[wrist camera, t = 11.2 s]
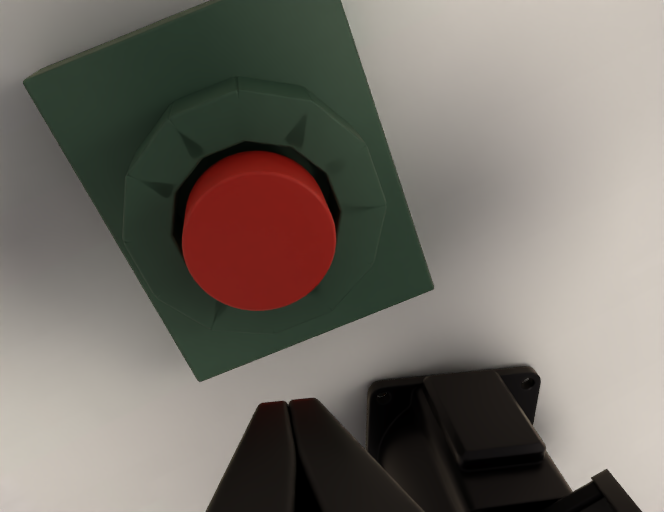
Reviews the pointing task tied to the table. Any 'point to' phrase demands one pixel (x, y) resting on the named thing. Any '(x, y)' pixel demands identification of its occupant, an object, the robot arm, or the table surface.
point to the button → (257, 231)
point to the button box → (227, 139)
